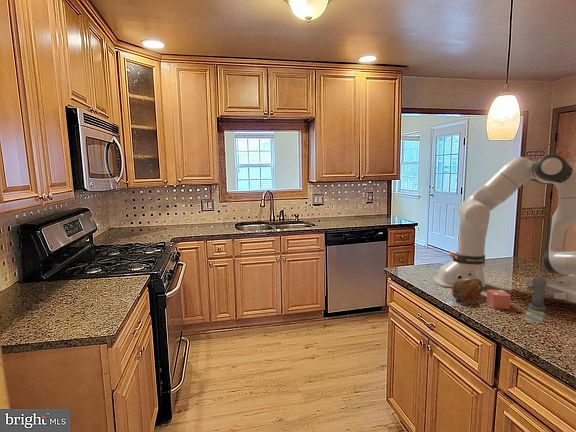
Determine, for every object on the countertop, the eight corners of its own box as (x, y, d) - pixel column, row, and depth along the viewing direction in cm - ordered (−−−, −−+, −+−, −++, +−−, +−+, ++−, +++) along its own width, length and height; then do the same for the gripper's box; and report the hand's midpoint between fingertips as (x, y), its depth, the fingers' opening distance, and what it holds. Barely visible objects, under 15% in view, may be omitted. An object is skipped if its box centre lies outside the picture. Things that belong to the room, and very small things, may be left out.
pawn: (533, 310, 130) (536, 278, 129) (525, 305, 136) (528, 274, 134) (548, 311, 130) (551, 279, 128) (540, 305, 135) (543, 274, 133)
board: (519, 303, 139) (519, 301, 139) (556, 311, 132) (557, 309, 132) (512, 319, 125) (512, 317, 125) (554, 329, 117) (554, 327, 117)
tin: (456, 302, 141) (457, 282, 140) (449, 300, 144) (451, 280, 142) (482, 297, 147) (483, 277, 146) (475, 294, 150) (477, 275, 148)
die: (492, 310, 133) (494, 294, 132) (486, 304, 139) (487, 289, 138) (509, 310, 132) (511, 295, 132) (502, 304, 138) (503, 290, 137)
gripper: (541, 272, 146) (516, 275, 142) (596, 288, 126) (569, 292, 122) (539, 286, 147) (514, 290, 142) (594, 305, 127) (567, 310, 123)
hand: (540, 291), depth 132 cm, fingers open, 8 cm apart
